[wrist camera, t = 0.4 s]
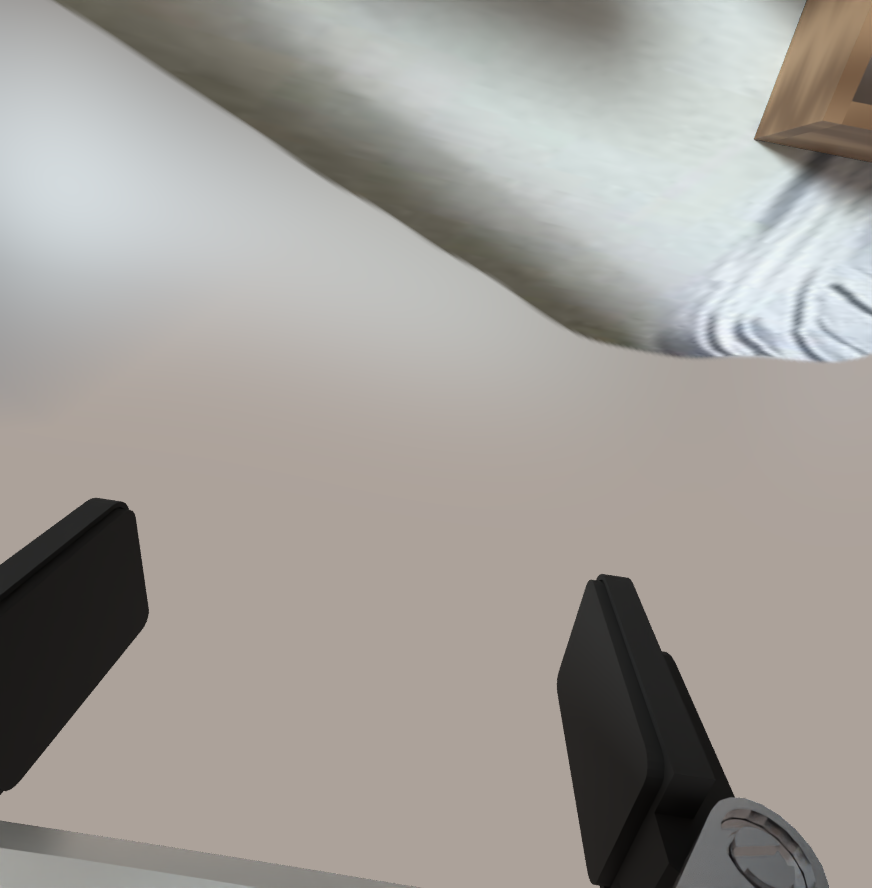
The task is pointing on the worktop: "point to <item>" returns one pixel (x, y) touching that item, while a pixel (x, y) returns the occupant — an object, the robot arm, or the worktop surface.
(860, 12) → the box
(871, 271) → the worktop surface
